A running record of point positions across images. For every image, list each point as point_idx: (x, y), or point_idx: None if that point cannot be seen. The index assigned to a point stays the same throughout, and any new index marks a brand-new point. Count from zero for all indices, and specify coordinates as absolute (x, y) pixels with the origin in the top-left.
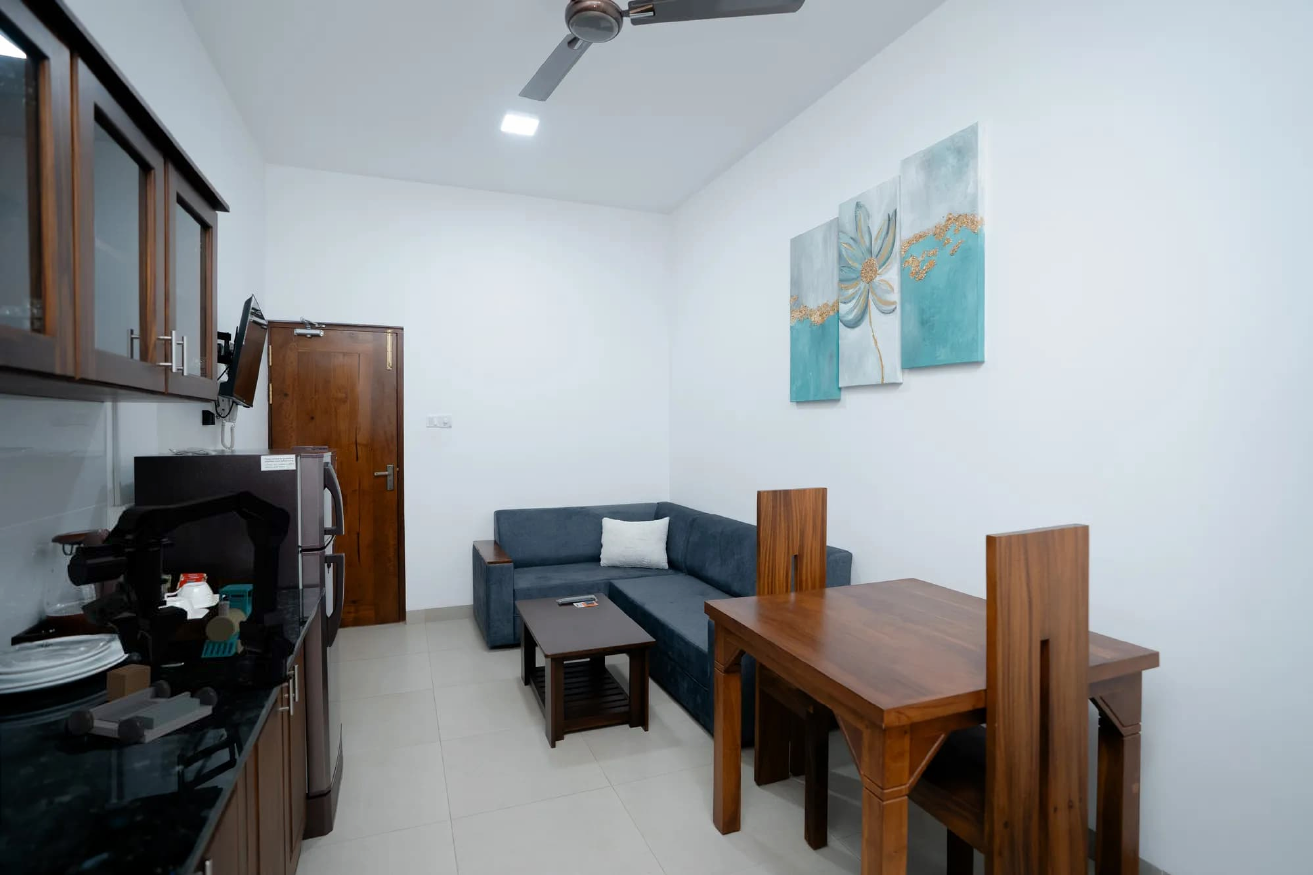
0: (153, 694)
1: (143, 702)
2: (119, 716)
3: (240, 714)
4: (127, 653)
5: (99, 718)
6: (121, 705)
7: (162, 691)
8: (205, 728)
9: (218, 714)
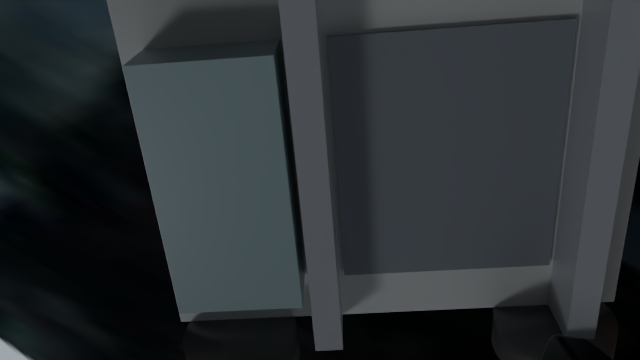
0: (555, 307)
1: (531, 240)
2: (479, 83)
3: (67, 326)
4: (548, 352)
5: (565, 22)
6: (574, 158)
7: (509, 329)
8: (44, 190)
9: (151, 299)
